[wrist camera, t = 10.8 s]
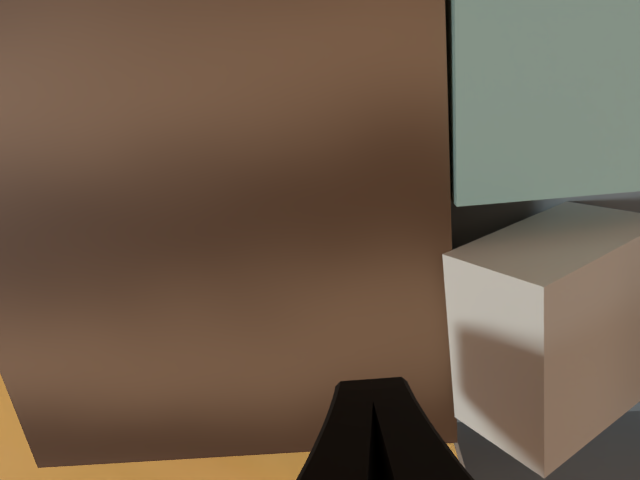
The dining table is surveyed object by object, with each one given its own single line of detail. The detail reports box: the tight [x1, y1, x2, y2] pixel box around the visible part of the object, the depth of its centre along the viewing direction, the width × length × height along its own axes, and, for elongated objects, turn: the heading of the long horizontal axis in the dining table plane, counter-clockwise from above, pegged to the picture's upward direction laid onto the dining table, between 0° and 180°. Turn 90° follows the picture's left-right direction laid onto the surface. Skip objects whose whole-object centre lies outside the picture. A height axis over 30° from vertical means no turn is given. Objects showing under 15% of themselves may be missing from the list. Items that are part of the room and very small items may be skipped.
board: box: [0, 0, 457, 468], centre depth 13 cm, size 13×12×3 cm
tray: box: [451, 191, 640, 480], centre depth 12 cm, size 14×7×4 cm, turn 7°
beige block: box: [442, 201, 640, 478], centre depth 12 cm, size 5×5×3 cm
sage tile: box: [445, 0, 640, 207], centre depth 11 cm, size 5×5×3 cm
